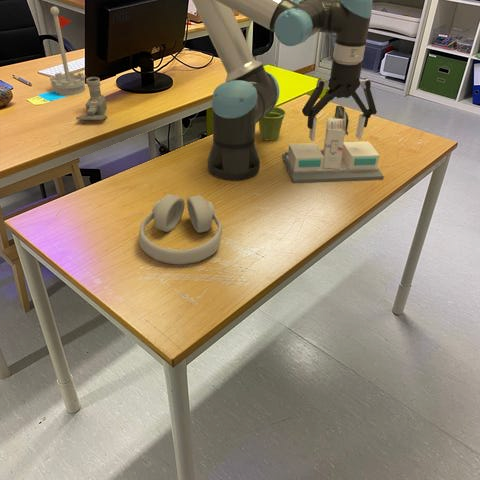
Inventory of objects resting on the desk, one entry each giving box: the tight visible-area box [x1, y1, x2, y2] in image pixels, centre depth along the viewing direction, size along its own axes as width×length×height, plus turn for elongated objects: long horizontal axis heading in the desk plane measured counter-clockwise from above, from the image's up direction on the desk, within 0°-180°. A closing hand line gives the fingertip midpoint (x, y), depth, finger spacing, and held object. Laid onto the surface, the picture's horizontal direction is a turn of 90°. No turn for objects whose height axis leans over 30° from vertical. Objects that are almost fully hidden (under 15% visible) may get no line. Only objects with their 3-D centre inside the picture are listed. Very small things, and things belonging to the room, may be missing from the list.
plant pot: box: [258, 106, 287, 142], centre depth 150 cm, size 9×9×9 cm
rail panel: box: [281, 141, 385, 184], centre depth 135 cm, size 26×16×6 cm, turn 97°
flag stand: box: [49, 6, 86, 97], centre depth 174 cm, size 13×13×30 cm
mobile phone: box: [334, 105, 350, 135], centre depth 161 cm, size 5×3×15 cm
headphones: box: [138, 193, 223, 265], centre depth 106 cm, size 18×8×20 cm
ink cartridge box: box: [323, 109, 347, 169], centre depth 131 cm, size 9×5×15 cm, turn 173°
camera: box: [75, 76, 108, 121], centre depth 160 cm, size 9×12×15 cm
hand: (335, 138), depth 131 cm, fingers open, 13 cm apart
